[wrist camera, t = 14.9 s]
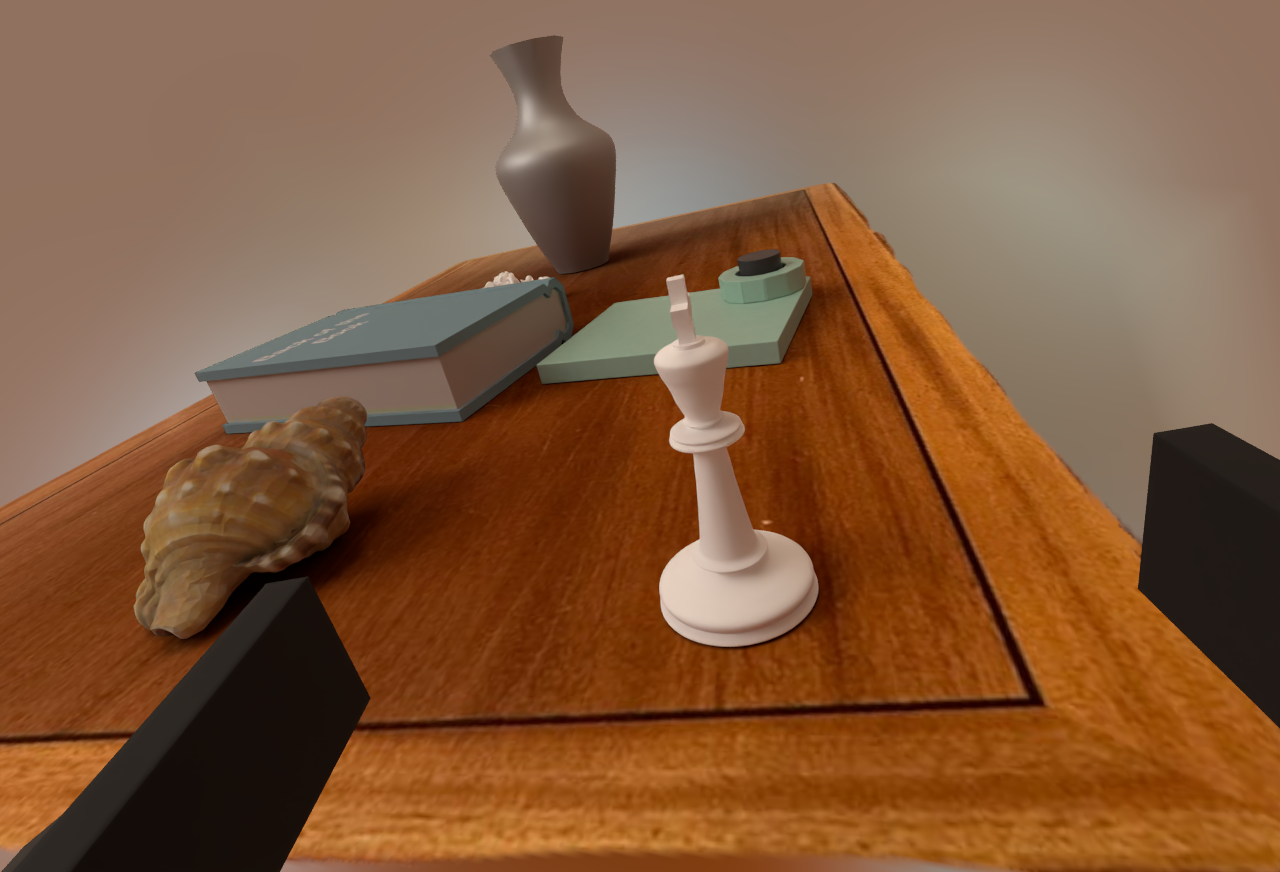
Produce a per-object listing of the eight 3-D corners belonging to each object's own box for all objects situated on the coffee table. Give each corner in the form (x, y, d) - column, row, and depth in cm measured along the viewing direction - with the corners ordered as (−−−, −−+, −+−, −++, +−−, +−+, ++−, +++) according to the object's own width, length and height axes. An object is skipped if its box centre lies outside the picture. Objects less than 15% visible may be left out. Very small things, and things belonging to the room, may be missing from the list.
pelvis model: (551, 260, 70) (531, 268, 63) (560, 300, 71) (542, 312, 65) (480, 274, 71) (454, 283, 65) (491, 313, 73) (466, 326, 67)
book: (226, 433, 51) (194, 372, 49) (371, 357, 64) (351, 306, 62) (462, 421, 42) (434, 345, 39) (576, 334, 55) (560, 273, 53)
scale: (813, 292, 50) (808, 252, 49) (781, 363, 38) (773, 313, 37) (620, 317, 57) (612, 282, 55) (541, 384, 45) (528, 341, 44)
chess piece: (806, 536, 23) (765, 241, 19) (831, 638, 18) (783, 279, 14) (665, 555, 24) (596, 277, 20) (656, 656, 19) (564, 323, 15)
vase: (618, 271, 76) (559, 21, 66) (508, 290, 81) (438, 60, 71) (651, 244, 89) (605, 30, 79) (553, 263, 93) (499, 63, 83)
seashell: (263, 588, 35) (275, 394, 35) (403, 606, 33) (416, 400, 33) (74, 636, 26) (91, 374, 26) (252, 664, 24) (270, 381, 24)
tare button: (785, 265, 49) (783, 247, 48) (778, 276, 46) (775, 257, 46) (745, 271, 50) (742, 253, 49) (736, 282, 47) (733, 263, 47)
